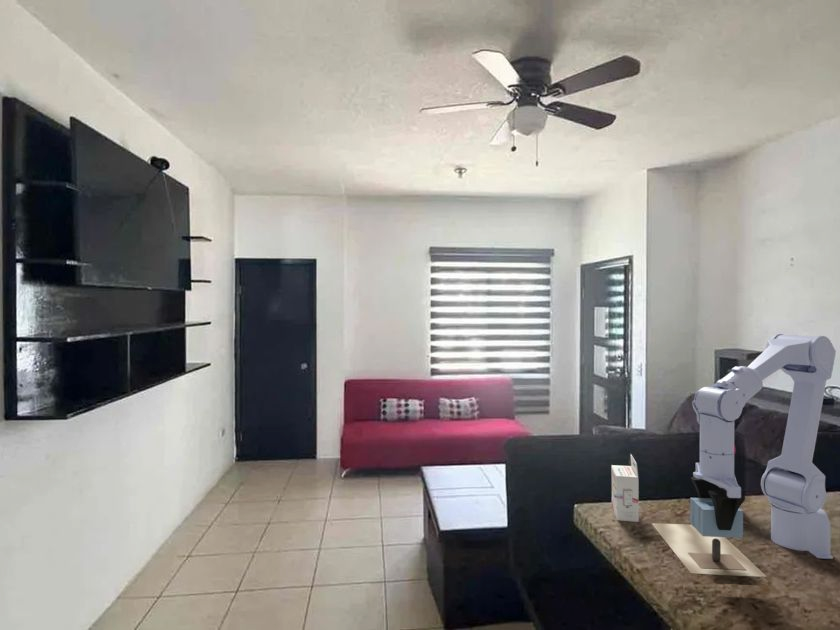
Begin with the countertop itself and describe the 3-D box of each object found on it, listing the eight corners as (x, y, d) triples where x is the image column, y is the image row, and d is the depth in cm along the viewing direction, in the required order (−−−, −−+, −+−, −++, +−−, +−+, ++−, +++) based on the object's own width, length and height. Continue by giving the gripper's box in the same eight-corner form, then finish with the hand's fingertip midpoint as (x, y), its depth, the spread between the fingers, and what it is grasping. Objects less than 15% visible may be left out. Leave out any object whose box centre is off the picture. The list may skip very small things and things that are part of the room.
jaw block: (727, 524, 102) (727, 498, 102) (742, 537, 96) (743, 511, 96) (690, 522, 103) (690, 497, 103) (702, 536, 97) (702, 509, 97)
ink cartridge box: (610, 512, 128) (610, 452, 127) (632, 513, 127) (632, 453, 126) (616, 526, 119) (616, 462, 119) (639, 528, 118) (639, 463, 118)
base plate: (712, 532, 116) (712, 506, 116) (766, 585, 94) (767, 552, 94) (651, 529, 118) (651, 503, 117) (690, 581, 96) (691, 549, 96)
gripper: (679, 440, 107) (679, 506, 107) (711, 461, 93) (710, 538, 93) (716, 441, 106) (716, 508, 107) (753, 462, 92) (753, 539, 92)
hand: (716, 522), depth 100 cm, fingers closed on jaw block, 6 cm apart
